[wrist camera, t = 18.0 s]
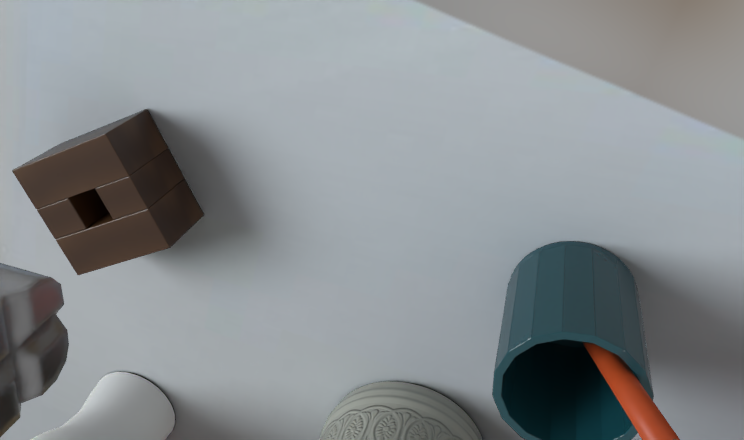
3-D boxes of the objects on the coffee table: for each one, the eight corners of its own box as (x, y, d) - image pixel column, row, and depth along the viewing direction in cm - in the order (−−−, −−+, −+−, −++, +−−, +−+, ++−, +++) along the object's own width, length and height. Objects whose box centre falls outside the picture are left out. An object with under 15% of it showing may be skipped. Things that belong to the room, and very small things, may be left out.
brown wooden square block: (59, 144, 51) (11, 170, 47) (147, 108, 48) (105, 133, 44) (117, 242, 54) (77, 275, 50) (204, 215, 51) (170, 248, 47)
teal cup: (491, 257, 47) (472, 348, 38) (618, 227, 43) (628, 319, 35) (529, 356, 49) (519, 462, 41) (652, 334, 46) (669, 444, 38)
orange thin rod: (557, 297, 46) (672, 482, 29) (578, 290, 46) (706, 471, 29) (563, 316, 46) (681, 508, 29) (584, 308, 46) (714, 497, 29)
